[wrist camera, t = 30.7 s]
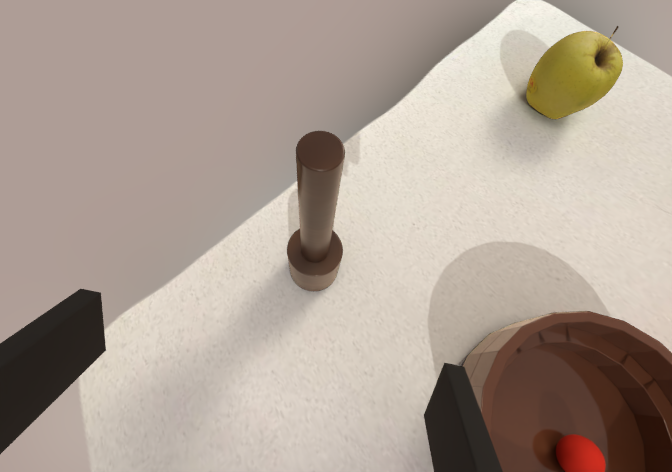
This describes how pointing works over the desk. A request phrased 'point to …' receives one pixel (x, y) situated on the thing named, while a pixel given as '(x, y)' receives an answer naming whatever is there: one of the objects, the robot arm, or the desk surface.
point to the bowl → (575, 392)
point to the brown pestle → (317, 211)
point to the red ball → (579, 455)
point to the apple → (574, 74)
